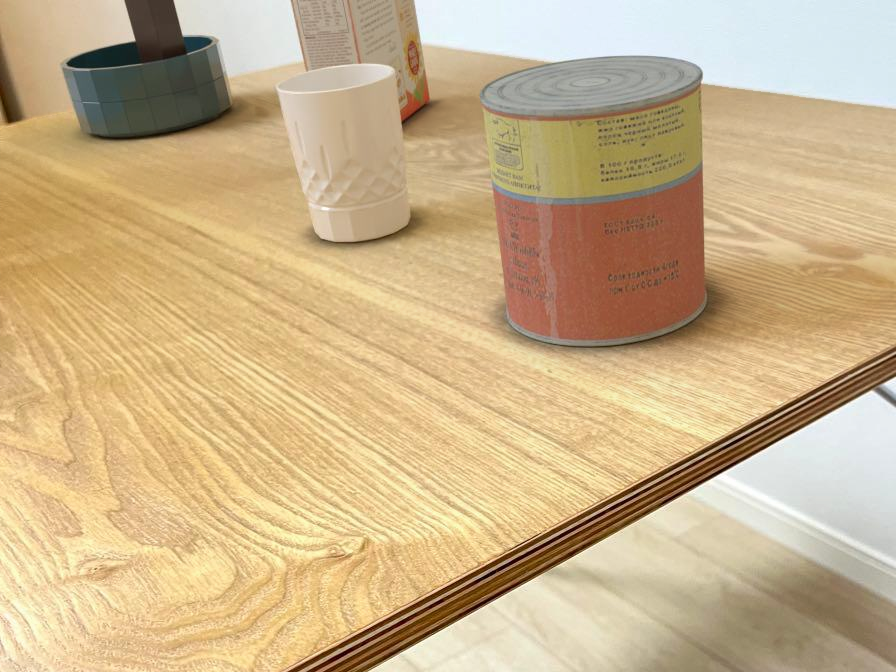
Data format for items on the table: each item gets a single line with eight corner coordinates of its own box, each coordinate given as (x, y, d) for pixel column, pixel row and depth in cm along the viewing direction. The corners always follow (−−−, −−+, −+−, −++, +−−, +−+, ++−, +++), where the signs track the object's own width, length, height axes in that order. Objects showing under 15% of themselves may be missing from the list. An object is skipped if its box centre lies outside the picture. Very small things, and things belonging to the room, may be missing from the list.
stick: (152, 102, 113) (108, -56, 105) (174, 93, 115) (133, -61, 108) (175, 102, 112) (132, -57, 104) (198, 94, 114) (158, -63, 106)
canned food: (694, 259, 69) (689, 46, 62) (719, 335, 59) (716, 95, 53) (508, 277, 69) (483, 68, 63) (504, 355, 60) (474, 120, 53)
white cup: (319, 213, 84) (289, 70, 78) (425, 204, 83) (402, 58, 78) (296, 250, 77) (262, 97, 72) (411, 241, 77) (385, 85, 71)
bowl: (49, 137, 114) (26, 68, 110) (158, 98, 125) (141, 34, 121) (158, 143, 107) (138, 70, 104) (264, 102, 118) (249, 34, 114)
